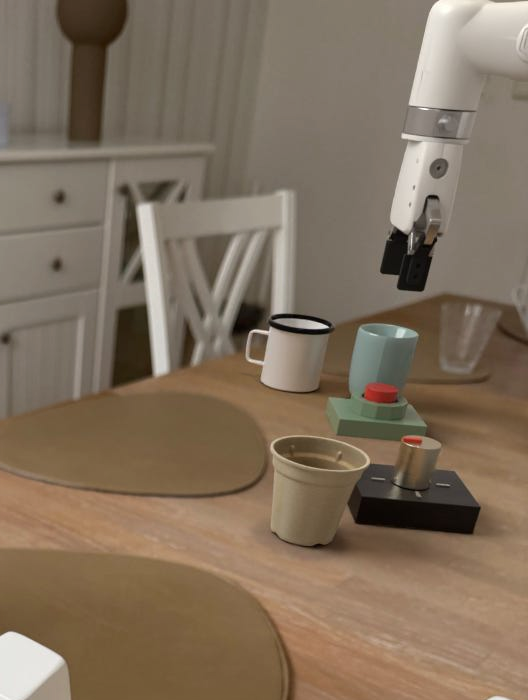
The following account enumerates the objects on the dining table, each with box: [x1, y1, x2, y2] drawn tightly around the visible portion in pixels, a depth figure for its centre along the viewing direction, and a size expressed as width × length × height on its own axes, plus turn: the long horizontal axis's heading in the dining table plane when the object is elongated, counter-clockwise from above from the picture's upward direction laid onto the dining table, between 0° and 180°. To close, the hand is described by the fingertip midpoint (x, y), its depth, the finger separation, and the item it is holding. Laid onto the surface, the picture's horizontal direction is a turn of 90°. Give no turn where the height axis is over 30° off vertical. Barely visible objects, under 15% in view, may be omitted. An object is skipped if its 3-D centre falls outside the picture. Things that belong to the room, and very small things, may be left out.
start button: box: [363, 383, 398, 404], centre depth 126 cm, size 4×4×2 cm
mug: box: [245, 312, 336, 394], centre depth 140 cm, size 12×10×9 cm
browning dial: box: [391, 435, 442, 490], centre depth 102 cm, size 4×4×5 cm
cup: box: [348, 323, 420, 396], centre depth 135 cm, size 8×8×10 cm
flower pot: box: [269, 434, 371, 547], centre depth 96 cm, size 9×9×9 cm
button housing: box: [324, 390, 428, 442], centre depth 127 cm, size 11×9×4 cm
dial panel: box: [347, 462, 482, 535], centre depth 104 cm, size 12×10×3 cm
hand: (400, 282), depth 121 cm, fingers open, 9 cm apart
